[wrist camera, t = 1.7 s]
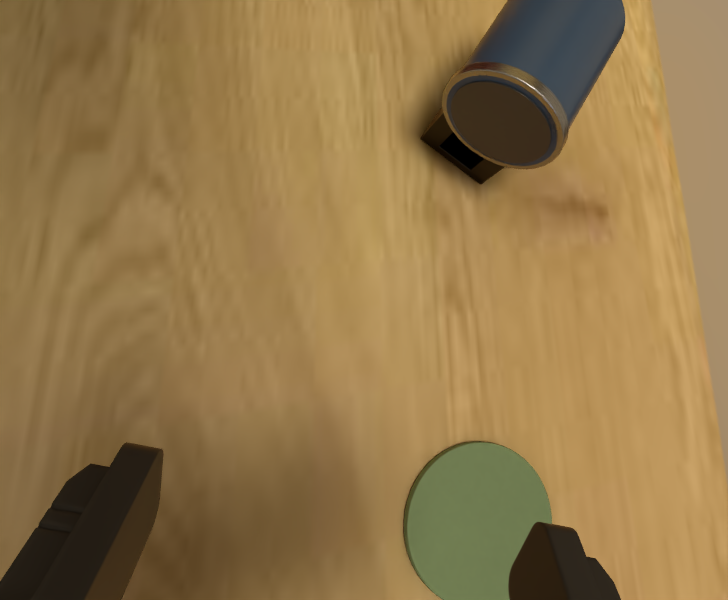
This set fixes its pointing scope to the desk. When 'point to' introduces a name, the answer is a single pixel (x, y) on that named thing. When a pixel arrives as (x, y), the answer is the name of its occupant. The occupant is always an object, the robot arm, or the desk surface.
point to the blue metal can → (531, 78)
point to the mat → (472, 519)
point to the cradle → (457, 150)
